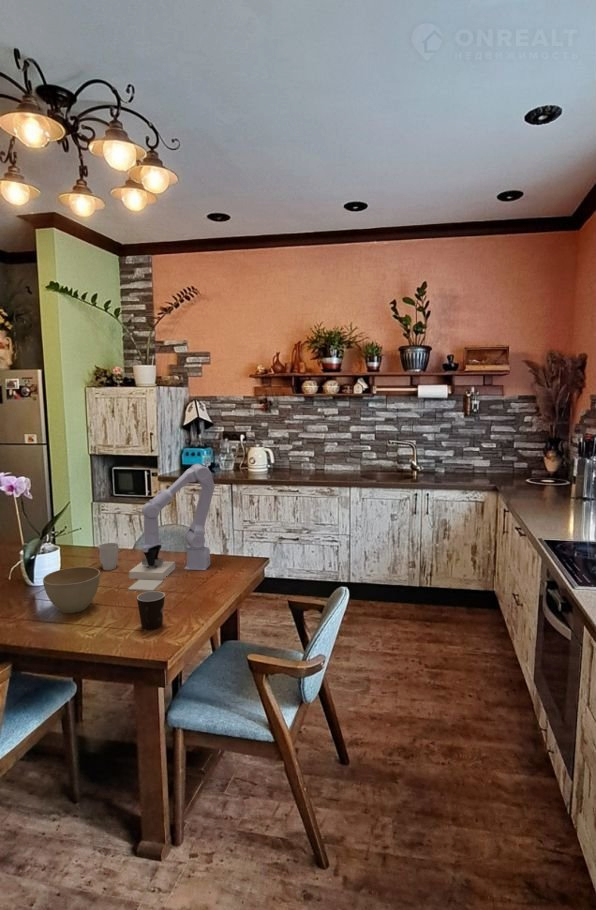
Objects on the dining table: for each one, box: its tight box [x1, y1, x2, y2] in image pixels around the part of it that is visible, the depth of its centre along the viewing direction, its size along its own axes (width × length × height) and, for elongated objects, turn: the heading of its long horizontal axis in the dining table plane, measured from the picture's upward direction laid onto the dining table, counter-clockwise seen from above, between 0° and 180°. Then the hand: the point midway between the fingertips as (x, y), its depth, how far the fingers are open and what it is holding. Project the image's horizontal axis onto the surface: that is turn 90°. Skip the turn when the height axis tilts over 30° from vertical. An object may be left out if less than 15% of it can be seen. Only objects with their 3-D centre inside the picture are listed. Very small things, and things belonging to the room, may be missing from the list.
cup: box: [97, 542, 119, 571], centre depth 228 cm, size 8×8×10 cm
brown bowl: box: [42, 566, 101, 614], centre depth 186 cm, size 18×18×12 cm
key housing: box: [128, 560, 176, 581], centre depth 222 cm, size 14×14×3 cm
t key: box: [141, 556, 164, 568], centre depth 222 cm, size 8×3×6 cm, turn 82°
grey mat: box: [127, 579, 164, 592], centre depth 208 cm, size 10×10×1 cm
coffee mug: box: [136, 590, 166, 631], centre depth 171 cm, size 12×9×10 cm
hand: (152, 564), depth 222 cm, fingers closed on t key, 2 cm apart
